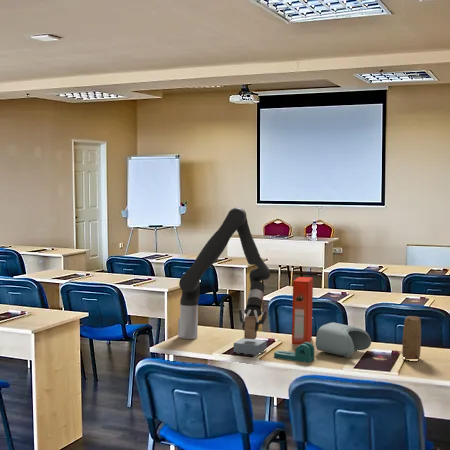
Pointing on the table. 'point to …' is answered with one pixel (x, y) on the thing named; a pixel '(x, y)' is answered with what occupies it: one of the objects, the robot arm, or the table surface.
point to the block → (412, 337)
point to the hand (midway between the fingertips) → (249, 329)
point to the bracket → (298, 353)
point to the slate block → (249, 346)
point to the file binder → (302, 310)
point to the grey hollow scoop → (341, 339)
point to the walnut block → (250, 327)
